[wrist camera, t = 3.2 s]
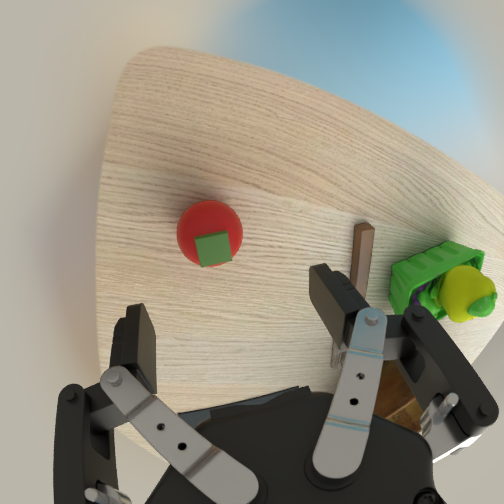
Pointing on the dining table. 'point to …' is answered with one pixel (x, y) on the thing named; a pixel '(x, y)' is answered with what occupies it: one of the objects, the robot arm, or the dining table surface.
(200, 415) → the placemat
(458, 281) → the fruit basket
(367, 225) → the fork
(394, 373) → the bowl
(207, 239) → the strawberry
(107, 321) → the dining table surface
